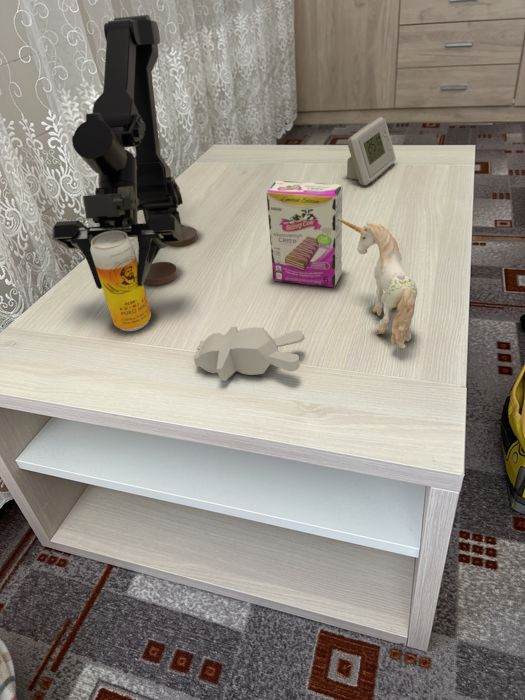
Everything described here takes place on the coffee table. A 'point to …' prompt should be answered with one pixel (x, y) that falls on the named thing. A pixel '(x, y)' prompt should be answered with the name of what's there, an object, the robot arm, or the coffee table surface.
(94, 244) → the beer can
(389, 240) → the unicorn figurine
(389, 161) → the digital clock
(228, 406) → the coffee table surface
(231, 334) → the bunny figurine
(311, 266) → the candy bar box
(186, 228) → the coaster far
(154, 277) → the coaster near
